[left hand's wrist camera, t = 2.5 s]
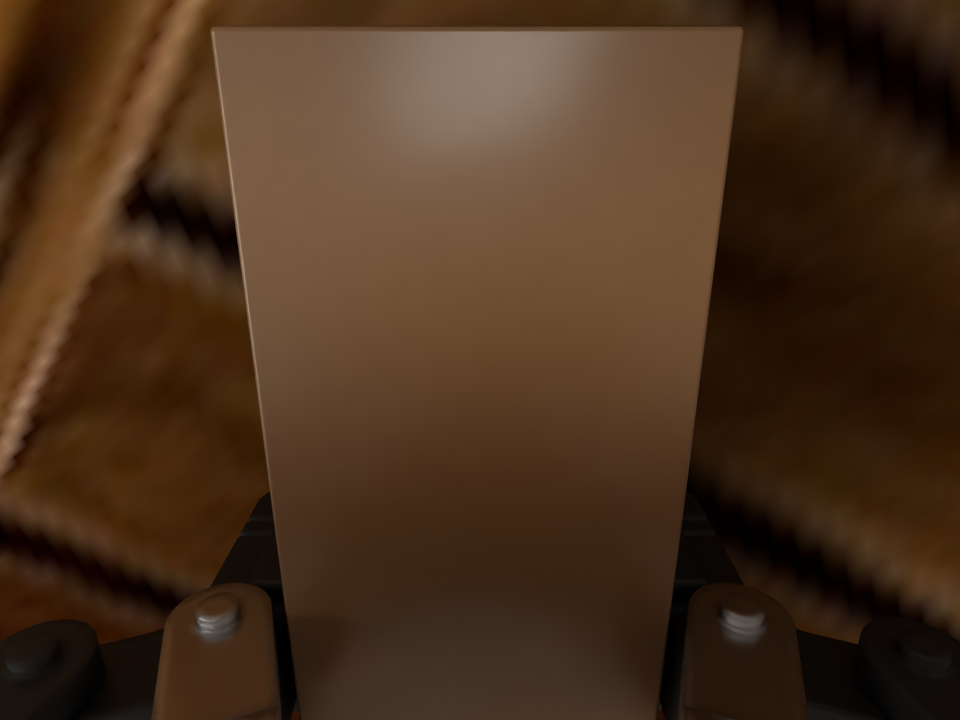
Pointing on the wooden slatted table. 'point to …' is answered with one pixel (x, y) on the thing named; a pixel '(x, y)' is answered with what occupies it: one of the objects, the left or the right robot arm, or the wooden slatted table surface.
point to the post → (477, 349)
